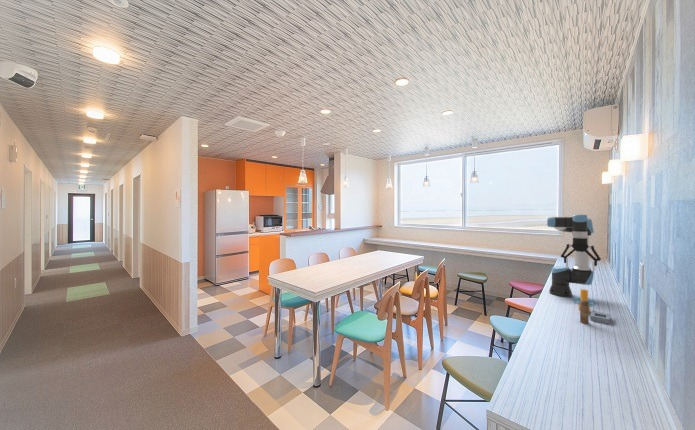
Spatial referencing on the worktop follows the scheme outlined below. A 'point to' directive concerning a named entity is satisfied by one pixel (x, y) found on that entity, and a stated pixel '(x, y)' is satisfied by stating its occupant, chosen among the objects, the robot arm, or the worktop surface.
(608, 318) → the socket plate
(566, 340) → the worktop surface
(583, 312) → the peg
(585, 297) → the yellow and blue toy
